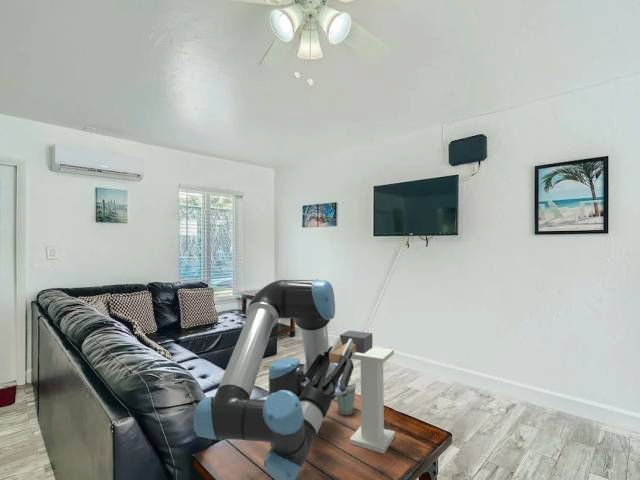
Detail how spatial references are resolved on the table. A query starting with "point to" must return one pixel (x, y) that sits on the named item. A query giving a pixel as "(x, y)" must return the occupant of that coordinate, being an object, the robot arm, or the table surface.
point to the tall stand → (372, 401)
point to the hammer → (360, 342)
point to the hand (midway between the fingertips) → (345, 341)
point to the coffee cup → (347, 399)
